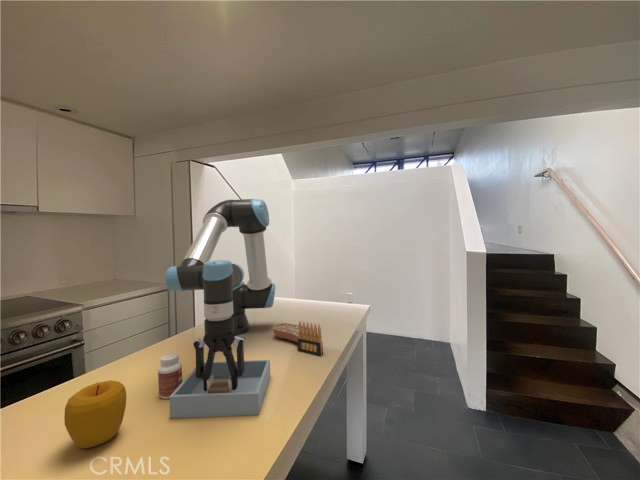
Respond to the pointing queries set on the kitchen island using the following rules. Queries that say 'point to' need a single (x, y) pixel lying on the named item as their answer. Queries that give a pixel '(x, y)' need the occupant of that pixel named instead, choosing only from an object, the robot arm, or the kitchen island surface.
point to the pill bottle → (169, 375)
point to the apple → (95, 413)
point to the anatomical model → (287, 331)
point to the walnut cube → (219, 386)
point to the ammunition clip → (310, 339)
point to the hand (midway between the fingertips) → (221, 401)
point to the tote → (244, 401)
